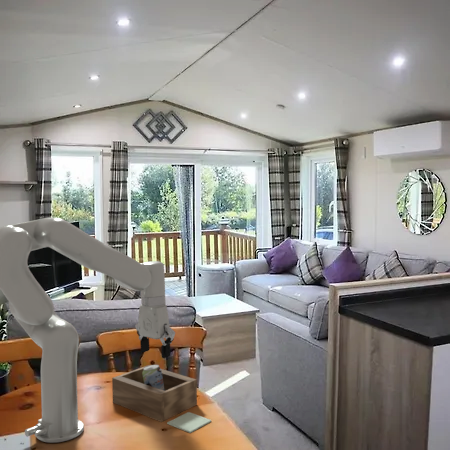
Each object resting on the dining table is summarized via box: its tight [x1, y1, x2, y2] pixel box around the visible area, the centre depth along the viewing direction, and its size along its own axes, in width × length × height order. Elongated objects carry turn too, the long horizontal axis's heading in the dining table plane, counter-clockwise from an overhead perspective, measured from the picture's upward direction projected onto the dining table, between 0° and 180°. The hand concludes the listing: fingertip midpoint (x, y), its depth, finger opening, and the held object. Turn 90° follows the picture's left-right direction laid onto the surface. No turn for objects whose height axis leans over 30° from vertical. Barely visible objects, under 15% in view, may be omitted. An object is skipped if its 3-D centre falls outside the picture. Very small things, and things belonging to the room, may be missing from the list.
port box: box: [111, 364, 198, 423], centre depth 152 cm, size 15×22×8 cm
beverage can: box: [142, 364, 165, 391], centre depth 152 cm, size 6×7×12 cm
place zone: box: [166, 411, 212, 434], centre depth 139 cm, size 9×9×1 cm
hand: (155, 354), depth 152 cm, fingers open, 9 cm apart
